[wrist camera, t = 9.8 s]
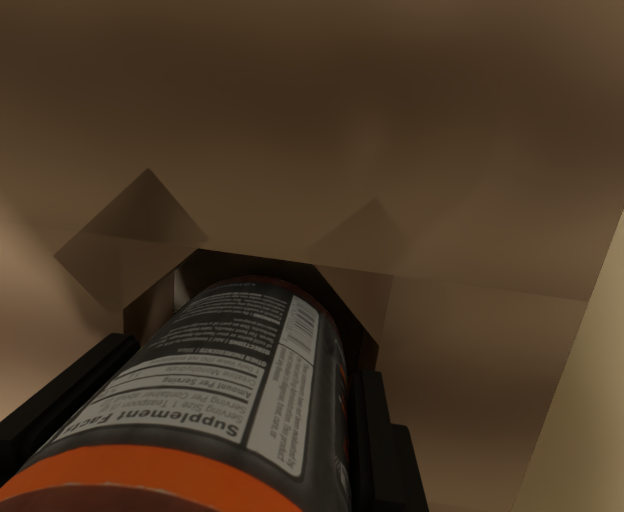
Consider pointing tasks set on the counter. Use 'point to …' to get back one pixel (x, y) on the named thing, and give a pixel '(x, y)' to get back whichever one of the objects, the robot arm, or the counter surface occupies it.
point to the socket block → (323, 190)
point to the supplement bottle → (209, 416)
